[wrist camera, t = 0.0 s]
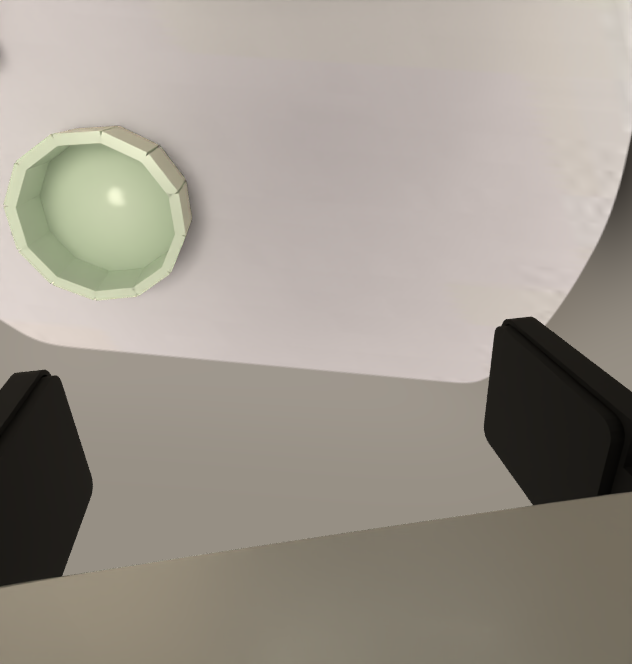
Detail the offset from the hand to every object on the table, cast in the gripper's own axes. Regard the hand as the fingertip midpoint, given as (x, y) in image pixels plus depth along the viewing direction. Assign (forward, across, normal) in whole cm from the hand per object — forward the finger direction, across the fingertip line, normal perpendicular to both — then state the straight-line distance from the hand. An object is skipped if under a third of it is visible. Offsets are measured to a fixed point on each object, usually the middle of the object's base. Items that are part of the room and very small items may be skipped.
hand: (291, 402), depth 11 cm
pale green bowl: (+37, +12, +2) cm, 39 cm away
